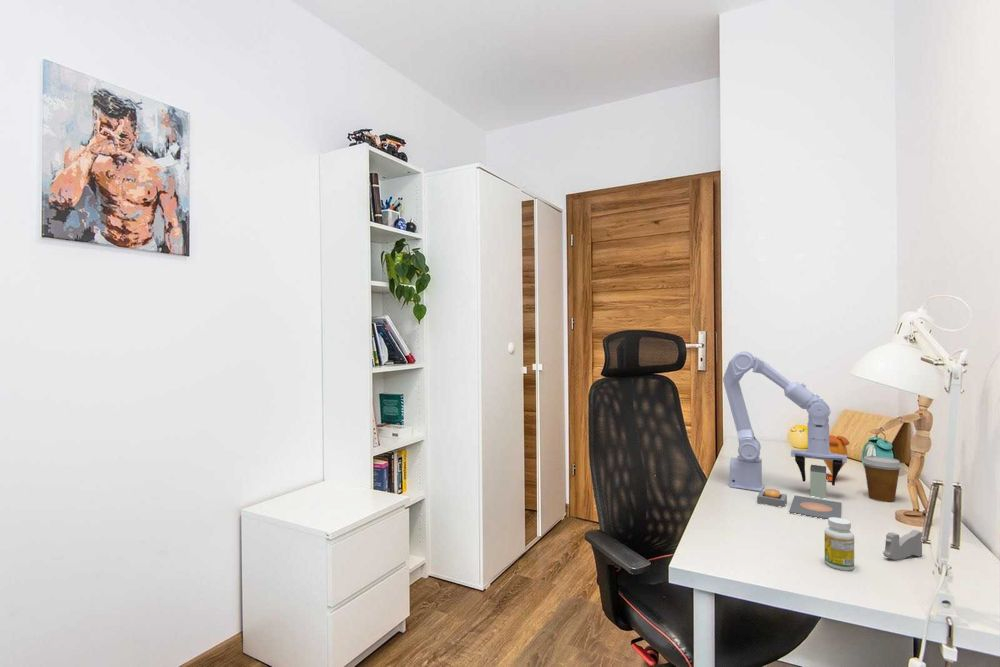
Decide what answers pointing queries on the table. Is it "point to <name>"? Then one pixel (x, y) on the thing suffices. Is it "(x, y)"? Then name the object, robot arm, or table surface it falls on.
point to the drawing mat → (815, 507)
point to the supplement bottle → (839, 544)
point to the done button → (772, 493)
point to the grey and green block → (818, 481)
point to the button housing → (772, 499)
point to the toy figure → (836, 451)
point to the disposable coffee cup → (881, 477)
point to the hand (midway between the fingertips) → (818, 482)
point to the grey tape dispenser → (903, 545)
